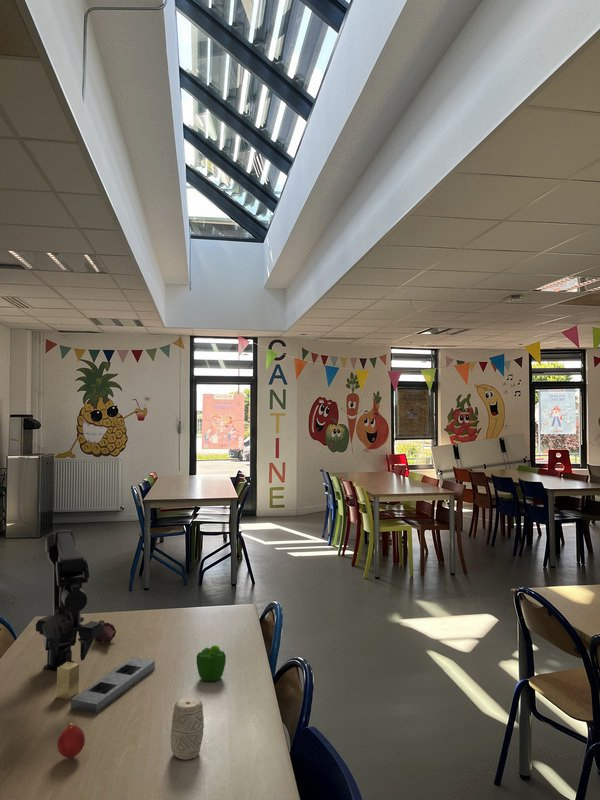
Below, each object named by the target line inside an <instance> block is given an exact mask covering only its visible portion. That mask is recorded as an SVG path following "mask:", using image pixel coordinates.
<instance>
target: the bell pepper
mask: <svg viewBox="0 0 600 800" xmlns="http://www.w3.org/2000/svg"><path fill="white" fill-rule="evenodd" d="M226 659H227V656H226V653H225V651H221V649H220V646H218V645H213V646H210V648H209V647H205V648H203V649H202V651H200V652H198V653H197V655H196V667H197V671H198V676H199V678H200V679H201V680H202V682H210V681H211V682H212V681H213V682H217V681H219V680H220V679H221V678H222V677H223V674H224V671H225V666H226Z"/></svg>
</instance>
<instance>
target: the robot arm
mask: <svg viewBox="0 0 600 800" xmlns="http://www.w3.org/2000/svg"><path fill="white" fill-rule="evenodd" d="M44 545H45V547H44V551H45V554H47V559H48V561H49V563H50V564H51V565H52V614H49V615H46V616H44V617H42V618H40V619H38V620H37V622H36V623H35V632H38V634H39V635H42V636H44V637H43V647H44V650H45V651H47V653H46V655H47V657H46V658H47V659H46V664H45V665H43V667H42V669H45V670H52V671H56V672H57V668H58V667H59V666H61V665H63V664H64V663H66V662H72V663H75V661H74V660H73V659H72V657H73V654H72V653H73V650H72V646H73V647H74V646H76V645H75V644H77V640H78V641H79V643H80V653H79V655H80V661H81V662H82V661H84V660H85V659H86V656H87V655H88V652H89V650H90V648H91V646H92V644H93V642H94V640H95V637H97V636H98V635H100V634H101V633H103V632H104V626H103V624H102V623H101V622H99V621H93V620H91V621H89V622H87V623H84V624H82V623H83V622H84V616H83V617H82V614H81V612H82V610H83V609H85V607H86V605H87V604H88V597H87V594H86V593H85V591H84V589H83V584H86V583H88V582H89V578H90V571H89V563H88V561H87V559H86V558H84V555H83V554H82V552H80V551H78V550H76V534H74V533H73V530H72V529H71V530H70V529H62V530H57V531H54V533H53V534H51V535H49V536H47V537H46V539H45V543H44ZM77 635H78V636H79V638H78V639H77Z"/></svg>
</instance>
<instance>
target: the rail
mask: <svg viewBox="0 0 600 800" xmlns="http://www.w3.org/2000/svg"><path fill="white" fill-rule="evenodd" d="M155 664H156V661H155V660H153V659H146V658H141V657H135V656H133V657H132V656H131V658H129V659H128V660H127V659H126V661H124V662H123V663H122V664H121V665H118V666H117V667H115V668H114V669H113V670H111V671H110V672H109V673H107V674H106V675H104V676H103V677H100V679H98V680H97V681H95V682H94V683H92V684H91V685H90V686H88V687H87V688H85V689H83V690H82V691H81V692H78V693H77V694H76V695H74V696H73V697H71V698H70V710H76V711H79V712H80V711H81V712H86V713H90V714H96V715H97V714H98V713H99V712H100V711H102V710H103V709H104V708H106V707H107V706H109V705H110V704H111V703H113V701H115V700H116V699H117V698H119V697H120V696H121V695H123V694H124V693H126V692H127V691H128V690H129V689H131V687H134V686H135V685H136V684H137V683H139V682H140V681H141V680H142V679H144V678H145V677H146V676H147V675H149V674H150V673H152V672H153V671H154V670H155V669H156V665H155ZM101 692H105V693H101Z"/></svg>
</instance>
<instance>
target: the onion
mask: <svg viewBox="0 0 600 800" xmlns="http://www.w3.org/2000/svg"><path fill="white" fill-rule="evenodd" d="M85 741H86V737H85V733H84V731H83V729H81V728H80V727H79V726H77V725H75V724H74V723H73V722H71V723H69V724H68V725H67V727H66V728H65V729H64V730H62V731H61V733H60V735H59V737H58V738H57V745H56V746H57V751H58V753H59V754H60V755H61V756H62V757H64V758H66V759H67V760H73V759H74V758H75V757H76V756H77V755H79V754H80V753H81V751H82V750H83V748H84V746H85V743H86V742H85Z"/></svg>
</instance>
